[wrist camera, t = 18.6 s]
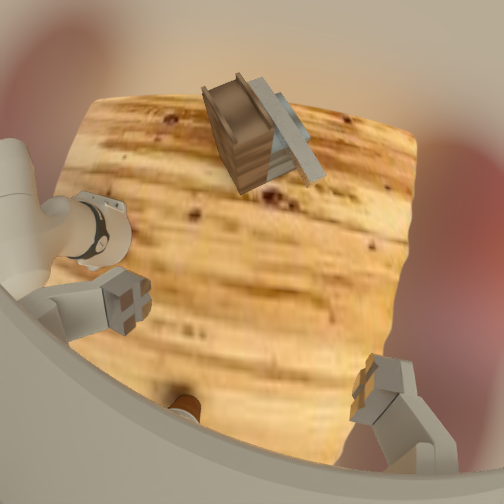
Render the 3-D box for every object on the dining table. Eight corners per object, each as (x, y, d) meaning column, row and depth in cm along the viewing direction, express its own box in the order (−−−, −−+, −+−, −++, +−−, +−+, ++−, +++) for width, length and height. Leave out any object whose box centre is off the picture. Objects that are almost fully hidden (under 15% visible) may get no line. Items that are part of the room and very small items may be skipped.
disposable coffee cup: (215, 407, 60) (208, 433, 48) (190, 426, 59) (179, 452, 47) (187, 381, 60) (174, 403, 48) (162, 402, 60) (147, 424, 48)
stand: (296, 168, 63) (323, 106, 35) (240, 195, 62) (232, 142, 35) (274, 131, 63) (285, 57, 36) (219, 155, 63) (200, 87, 35)
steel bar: (322, 181, 45) (326, 175, 42) (307, 188, 45) (310, 182, 42) (261, 86, 46) (262, 77, 43) (247, 91, 46) (247, 82, 43)
